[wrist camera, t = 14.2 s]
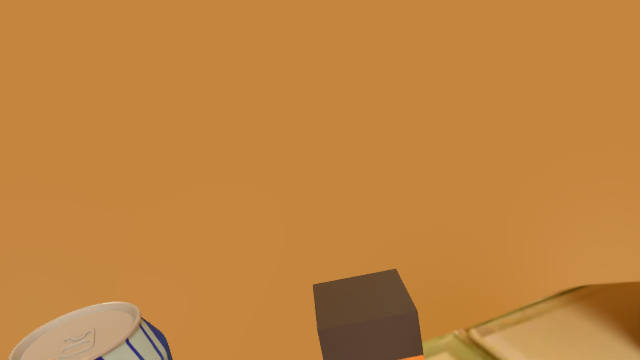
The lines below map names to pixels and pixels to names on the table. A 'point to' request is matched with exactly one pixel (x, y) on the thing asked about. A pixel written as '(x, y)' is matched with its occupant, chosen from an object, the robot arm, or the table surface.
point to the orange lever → (367, 319)
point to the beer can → (95, 336)
